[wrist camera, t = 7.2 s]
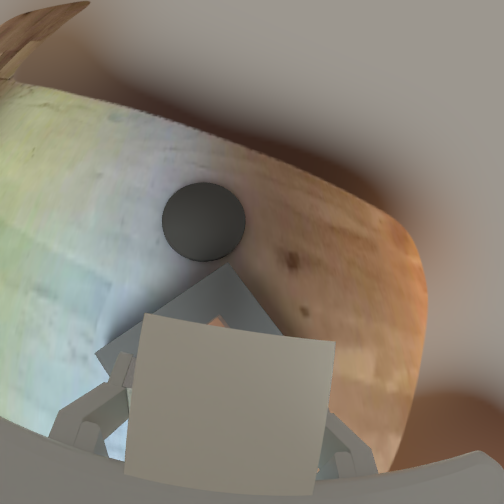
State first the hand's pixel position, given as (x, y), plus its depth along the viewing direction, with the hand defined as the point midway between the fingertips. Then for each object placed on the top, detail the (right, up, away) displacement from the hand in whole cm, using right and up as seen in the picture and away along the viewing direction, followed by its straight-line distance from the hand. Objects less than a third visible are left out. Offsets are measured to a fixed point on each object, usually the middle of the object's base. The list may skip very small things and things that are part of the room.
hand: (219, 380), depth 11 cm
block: (-1, -2, +5) cm, 6 cm away
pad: (-3, +7, +16) cm, 18 cm away
